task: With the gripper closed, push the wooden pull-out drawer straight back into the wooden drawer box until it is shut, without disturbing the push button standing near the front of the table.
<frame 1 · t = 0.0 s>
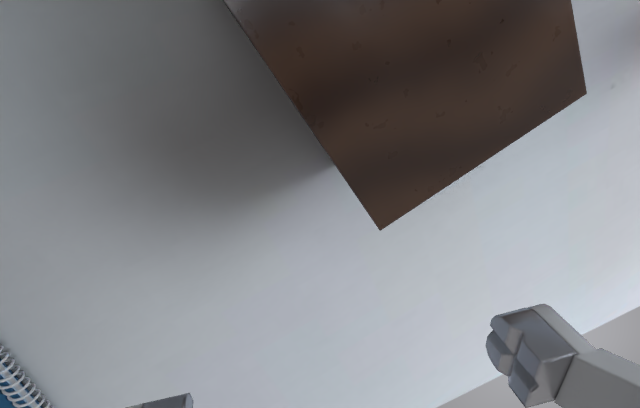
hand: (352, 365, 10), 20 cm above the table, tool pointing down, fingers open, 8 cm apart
wooden drawer box: (365, 30, 25), on the table
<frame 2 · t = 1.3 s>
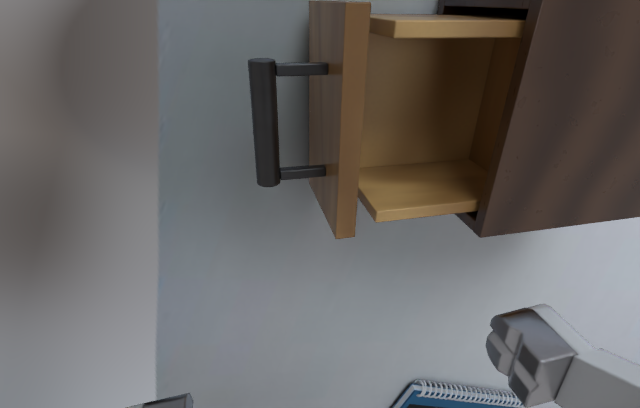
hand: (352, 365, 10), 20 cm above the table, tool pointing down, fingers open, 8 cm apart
wooden pull-out drawer: (394, 114, 23), point 5 cm above the table, slide at 8.0 cm
wooden drawer box: (508, 91, 30), on the table
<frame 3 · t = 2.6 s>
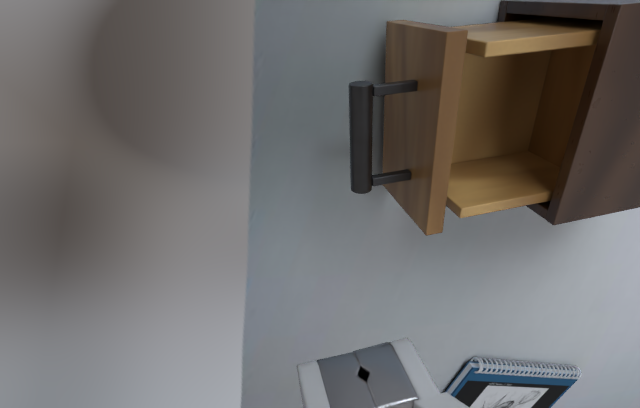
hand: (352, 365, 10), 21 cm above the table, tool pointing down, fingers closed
wooden pull-out drawer: (468, 118, 26), point 5 cm above the table, slide at 8.0 cm
wooden drawer box: (561, 84, 32), on the table
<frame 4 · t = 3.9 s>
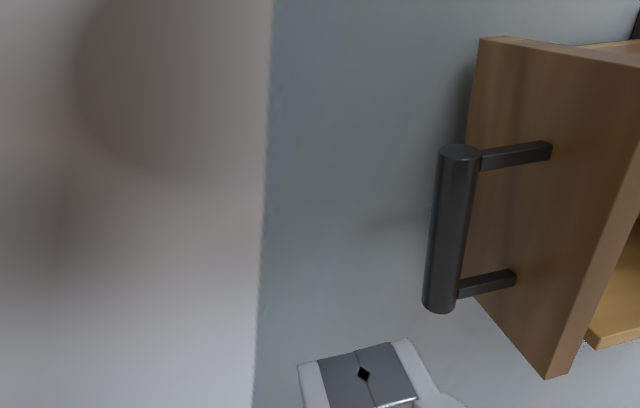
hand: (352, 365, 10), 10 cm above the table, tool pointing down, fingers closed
wooden pull-out drawer: (603, 190, 17), point 5 cm above the table, slide at 8.0 cm
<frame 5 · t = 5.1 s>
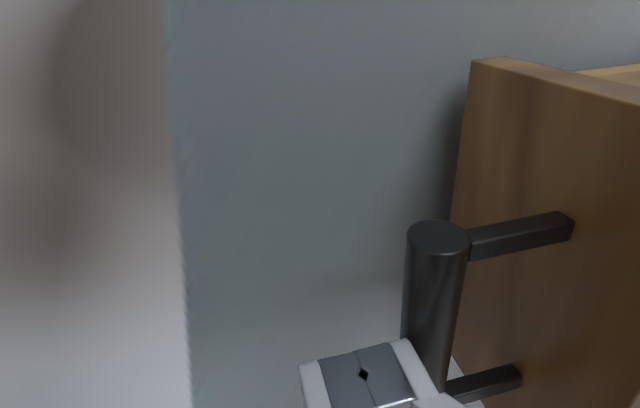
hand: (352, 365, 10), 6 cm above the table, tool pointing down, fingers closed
wooden pull-out drawer: (637, 259, 12), point 5 cm above the table, slide at 7.5 cm
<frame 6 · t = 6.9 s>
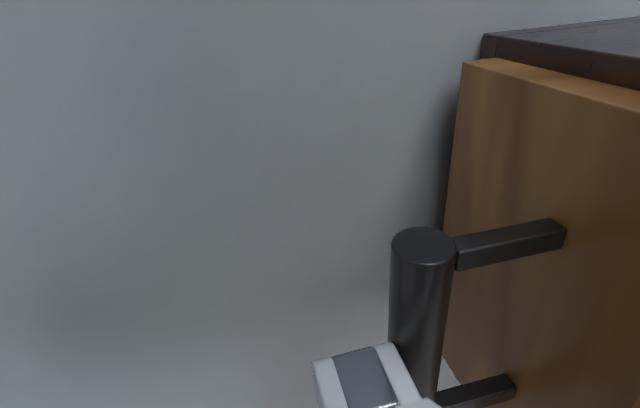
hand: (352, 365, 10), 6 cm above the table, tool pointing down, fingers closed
wooden pull-out drawer: (635, 265, 12), point 5 cm above the table, slide at 0.0 cm, touching gripper, wooden drawer box
wooden drawer box: (606, 182, 17), on the table
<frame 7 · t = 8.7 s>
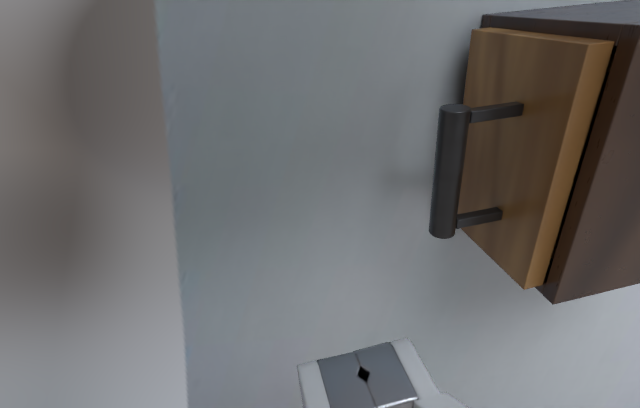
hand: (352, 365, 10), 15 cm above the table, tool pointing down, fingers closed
wooden pull-out drawer: (570, 145, 21), point 5 cm above the table, slide at 0.0 cm
wooden drawer box: (563, 114, 26), on the table
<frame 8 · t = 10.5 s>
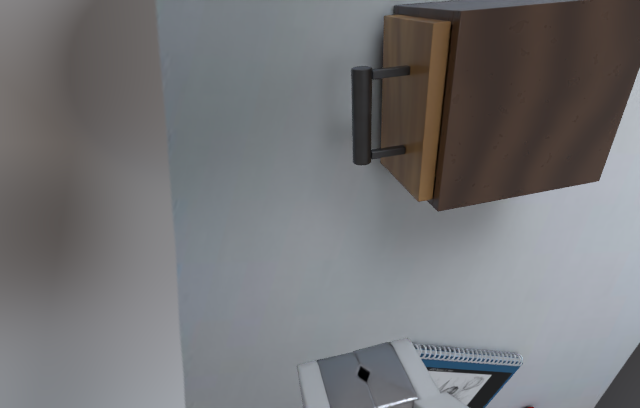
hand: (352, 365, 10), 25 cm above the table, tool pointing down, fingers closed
wooden pull-out drawer: (455, 101, 30), point 5 cm above the table, slide at 0.0 cm
wooden drawer box: (465, 82, 34), on the table
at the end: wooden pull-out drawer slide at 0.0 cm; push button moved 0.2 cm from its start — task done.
